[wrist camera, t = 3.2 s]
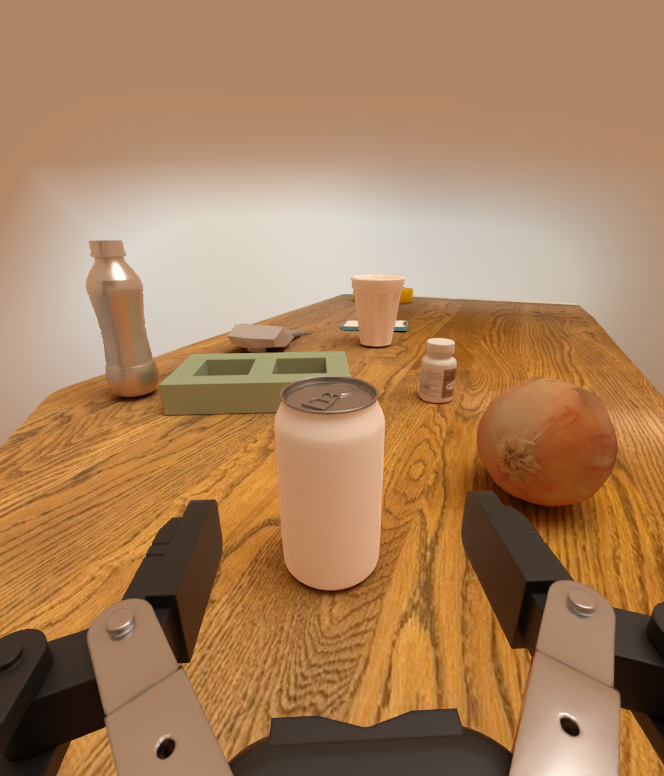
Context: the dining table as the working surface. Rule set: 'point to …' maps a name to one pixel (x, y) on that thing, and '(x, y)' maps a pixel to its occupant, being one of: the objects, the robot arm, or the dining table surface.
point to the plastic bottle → (121, 320)
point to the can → (330, 479)
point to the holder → (242, 380)
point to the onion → (547, 442)
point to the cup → (377, 306)
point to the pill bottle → (438, 371)
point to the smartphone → (353, 325)
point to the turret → (261, 336)
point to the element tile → (405, 295)
